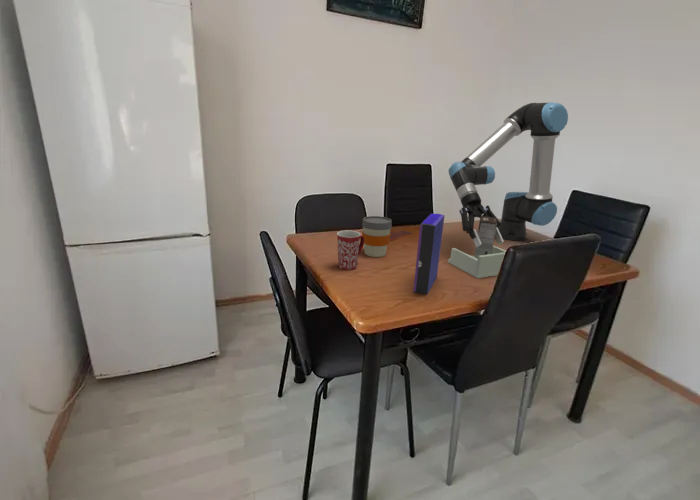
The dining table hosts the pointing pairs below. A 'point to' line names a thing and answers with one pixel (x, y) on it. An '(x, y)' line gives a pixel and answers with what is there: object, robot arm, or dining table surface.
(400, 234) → the wooden tablet
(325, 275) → the dining table surface
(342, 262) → the mug
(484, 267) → the tray
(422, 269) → the cereal box
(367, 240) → the reusable coffee cup
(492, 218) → the coffee box
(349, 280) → the dining table surface
